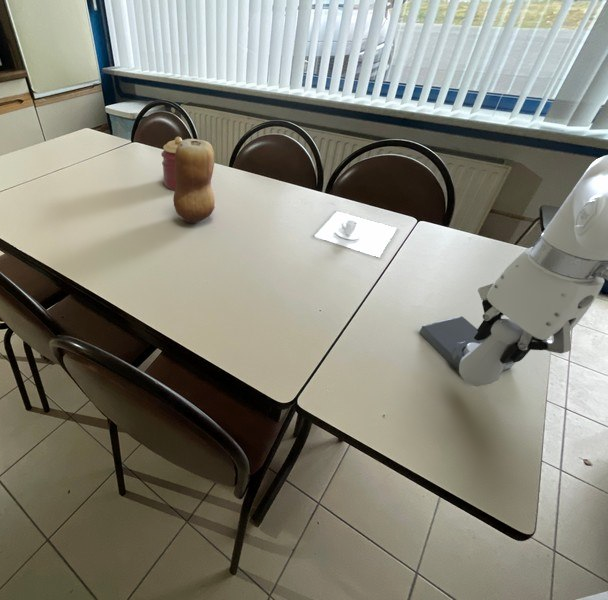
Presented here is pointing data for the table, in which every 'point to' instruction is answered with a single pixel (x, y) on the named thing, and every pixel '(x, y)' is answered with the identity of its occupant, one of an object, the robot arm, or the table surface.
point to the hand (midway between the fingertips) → (495, 348)
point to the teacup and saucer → (356, 233)
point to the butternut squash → (194, 180)
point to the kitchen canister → (170, 162)
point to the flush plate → (452, 339)
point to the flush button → (469, 348)
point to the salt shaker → (490, 354)
